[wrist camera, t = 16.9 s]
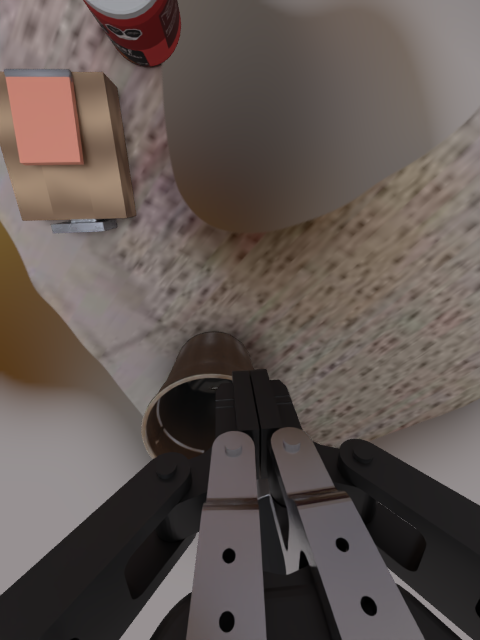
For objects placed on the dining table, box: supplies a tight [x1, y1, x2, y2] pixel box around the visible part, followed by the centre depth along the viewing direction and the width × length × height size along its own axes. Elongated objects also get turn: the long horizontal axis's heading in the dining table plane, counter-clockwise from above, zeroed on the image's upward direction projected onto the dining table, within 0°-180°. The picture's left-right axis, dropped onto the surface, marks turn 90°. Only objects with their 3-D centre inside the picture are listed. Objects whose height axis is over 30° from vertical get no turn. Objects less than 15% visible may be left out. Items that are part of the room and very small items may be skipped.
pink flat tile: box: [4, 69, 84, 165], centre depth 30 cm, size 8×6×1 cm
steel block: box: [51, 219, 117, 233], centre depth 36 cm, size 7×6×5 cm
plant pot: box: [141, 332, 254, 459], centre depth 42 cm, size 16×16×16 cm
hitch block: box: [0, 72, 136, 221], centre depth 34 cm, size 14×12×5 cm
